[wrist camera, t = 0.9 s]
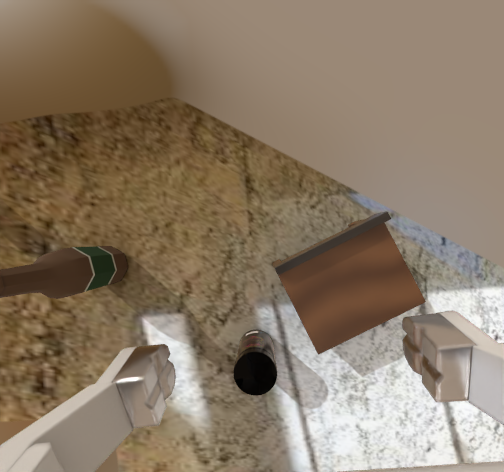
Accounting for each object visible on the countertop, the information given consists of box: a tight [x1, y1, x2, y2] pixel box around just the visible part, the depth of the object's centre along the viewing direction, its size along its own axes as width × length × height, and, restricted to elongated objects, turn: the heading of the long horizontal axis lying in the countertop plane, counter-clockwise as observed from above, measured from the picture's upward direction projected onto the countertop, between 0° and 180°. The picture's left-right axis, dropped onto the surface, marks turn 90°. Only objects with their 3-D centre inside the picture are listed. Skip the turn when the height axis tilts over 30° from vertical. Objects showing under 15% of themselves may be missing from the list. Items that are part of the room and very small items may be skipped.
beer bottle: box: [0, 246, 128, 299], centre depth 39 cm, size 8×8×24 cm
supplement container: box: [234, 330, 277, 395], centre depth 44 cm, size 7×7×10 cm
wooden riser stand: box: [272, 212, 426, 354], centre depth 43 cm, size 15×18×13 cm
